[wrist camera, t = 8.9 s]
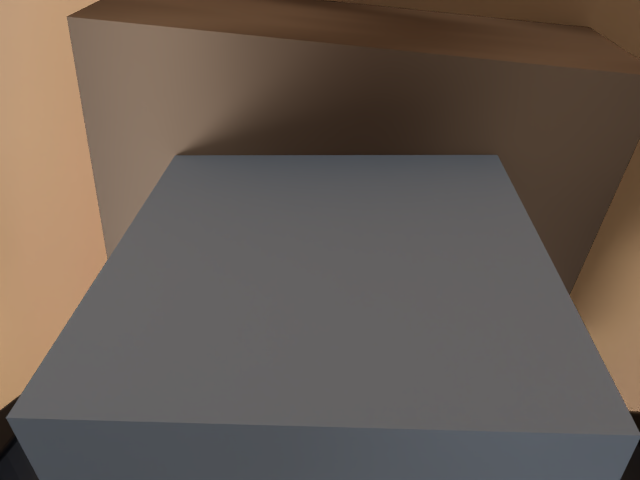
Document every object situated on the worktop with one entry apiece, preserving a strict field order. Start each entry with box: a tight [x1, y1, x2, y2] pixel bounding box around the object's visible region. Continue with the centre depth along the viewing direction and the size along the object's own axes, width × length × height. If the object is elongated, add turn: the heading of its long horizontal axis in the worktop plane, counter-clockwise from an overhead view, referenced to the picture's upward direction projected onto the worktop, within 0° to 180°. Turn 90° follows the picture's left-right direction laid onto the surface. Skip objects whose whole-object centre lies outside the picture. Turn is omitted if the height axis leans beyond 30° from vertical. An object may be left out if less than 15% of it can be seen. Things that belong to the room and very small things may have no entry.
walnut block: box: [67, 0, 640, 295], centre depth 13 cm, size 10×10×4 cm
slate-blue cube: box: [6, 155, 640, 480], centre depth 9 cm, size 6×6×6 cm
